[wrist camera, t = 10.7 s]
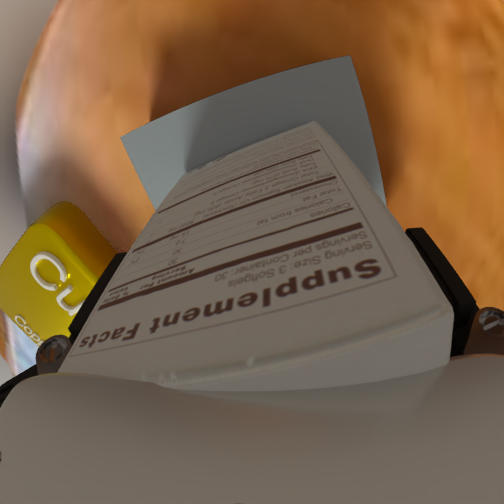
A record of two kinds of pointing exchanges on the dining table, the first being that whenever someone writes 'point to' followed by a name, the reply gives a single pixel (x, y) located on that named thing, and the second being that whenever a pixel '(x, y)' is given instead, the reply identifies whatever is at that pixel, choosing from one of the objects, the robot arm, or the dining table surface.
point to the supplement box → (269, 281)
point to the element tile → (52, 271)
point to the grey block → (256, 124)
